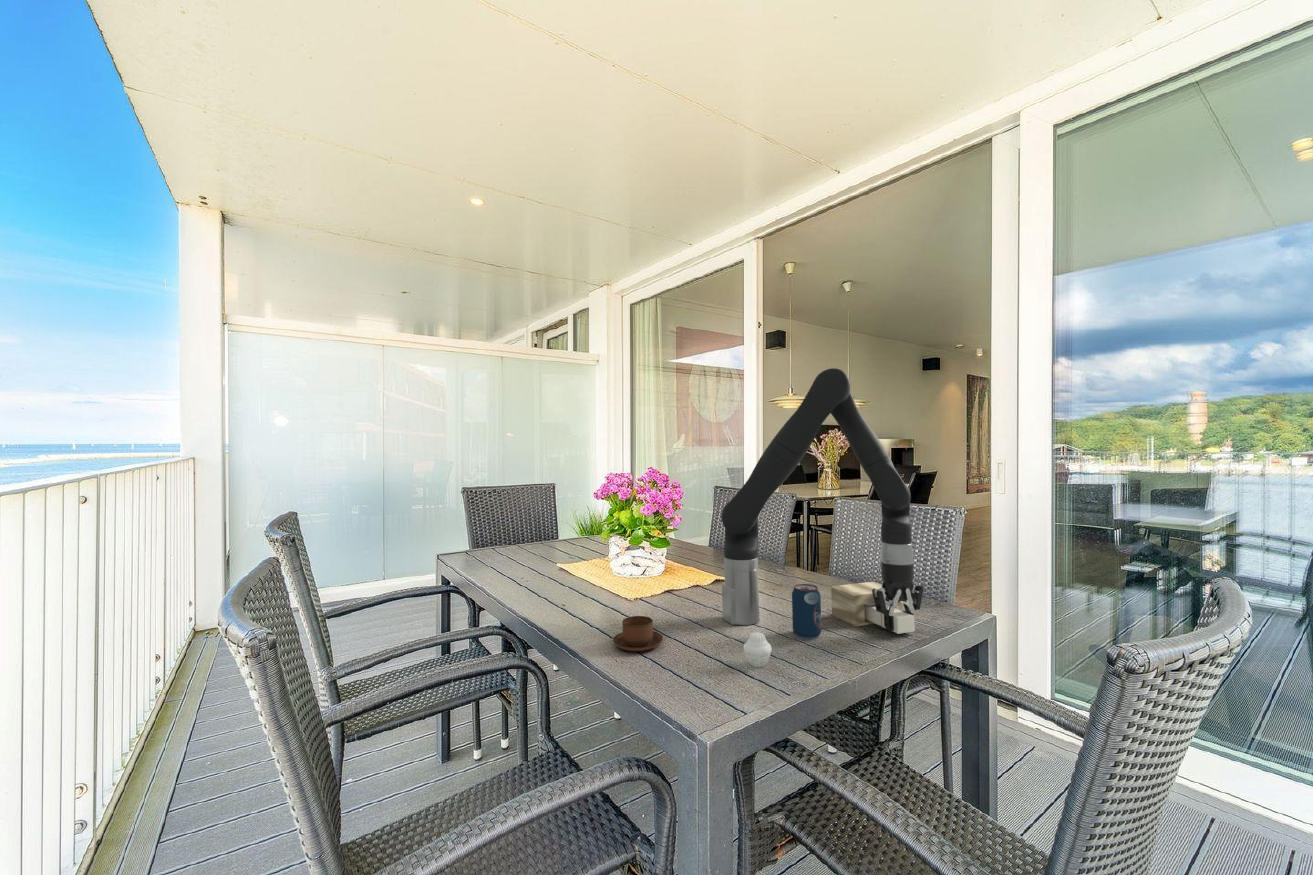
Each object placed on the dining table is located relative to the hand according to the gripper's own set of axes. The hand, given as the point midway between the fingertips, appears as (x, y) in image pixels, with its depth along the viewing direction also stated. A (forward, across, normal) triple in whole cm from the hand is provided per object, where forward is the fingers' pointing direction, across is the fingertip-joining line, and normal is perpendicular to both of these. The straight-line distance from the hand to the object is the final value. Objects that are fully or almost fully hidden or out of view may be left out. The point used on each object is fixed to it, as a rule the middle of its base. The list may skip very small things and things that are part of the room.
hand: (898, 628), depth 133 cm
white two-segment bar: (0, 0, -5) cm, 5 cm away
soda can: (+1, +22, -7) cm, 23 cm away
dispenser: (+1, 0, -13) cm, 13 cm away
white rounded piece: (+1, +42, +5) cm, 42 cm away
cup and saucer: (+2, +64, -15) cm, 65 cm away
